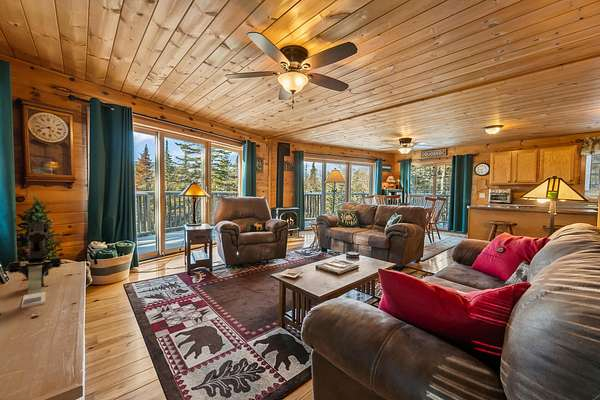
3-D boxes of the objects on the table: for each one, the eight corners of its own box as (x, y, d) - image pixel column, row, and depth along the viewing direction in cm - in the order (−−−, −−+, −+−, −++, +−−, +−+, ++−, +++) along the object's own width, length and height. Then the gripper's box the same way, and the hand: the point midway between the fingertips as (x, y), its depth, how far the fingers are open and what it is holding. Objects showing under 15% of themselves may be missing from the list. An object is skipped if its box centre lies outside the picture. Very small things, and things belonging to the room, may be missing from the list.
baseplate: (23, 297, 131) (24, 295, 131) (45, 293, 136) (45, 291, 136) (21, 308, 119) (21, 305, 119) (44, 303, 125) (44, 300, 125)
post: (28, 290, 126) (29, 266, 126) (41, 288, 129) (41, 265, 129) (27, 293, 123) (28, 268, 122) (40, 291, 126) (41, 267, 126)
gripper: (9, 246, 122) (5, 274, 114) (61, 243, 135) (61, 267, 127) (10, 259, 127) (6, 286, 120) (60, 254, 141) (60, 278, 133)
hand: (34, 279), depth 125 cm, fingers closed on post, 4 cm apart
